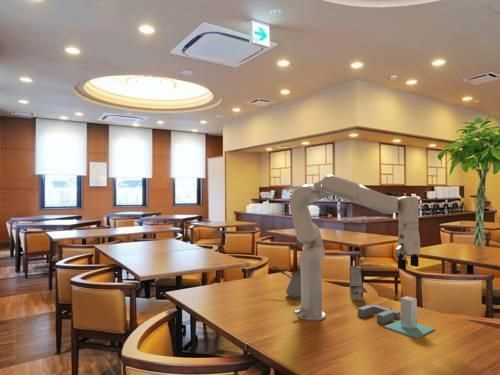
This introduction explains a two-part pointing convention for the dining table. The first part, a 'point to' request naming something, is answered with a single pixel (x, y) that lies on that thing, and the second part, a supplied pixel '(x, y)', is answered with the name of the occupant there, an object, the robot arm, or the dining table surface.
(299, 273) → the coffee pot
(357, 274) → the coffee box
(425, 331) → the mat
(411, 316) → the steel bar
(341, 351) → the dining table surface
